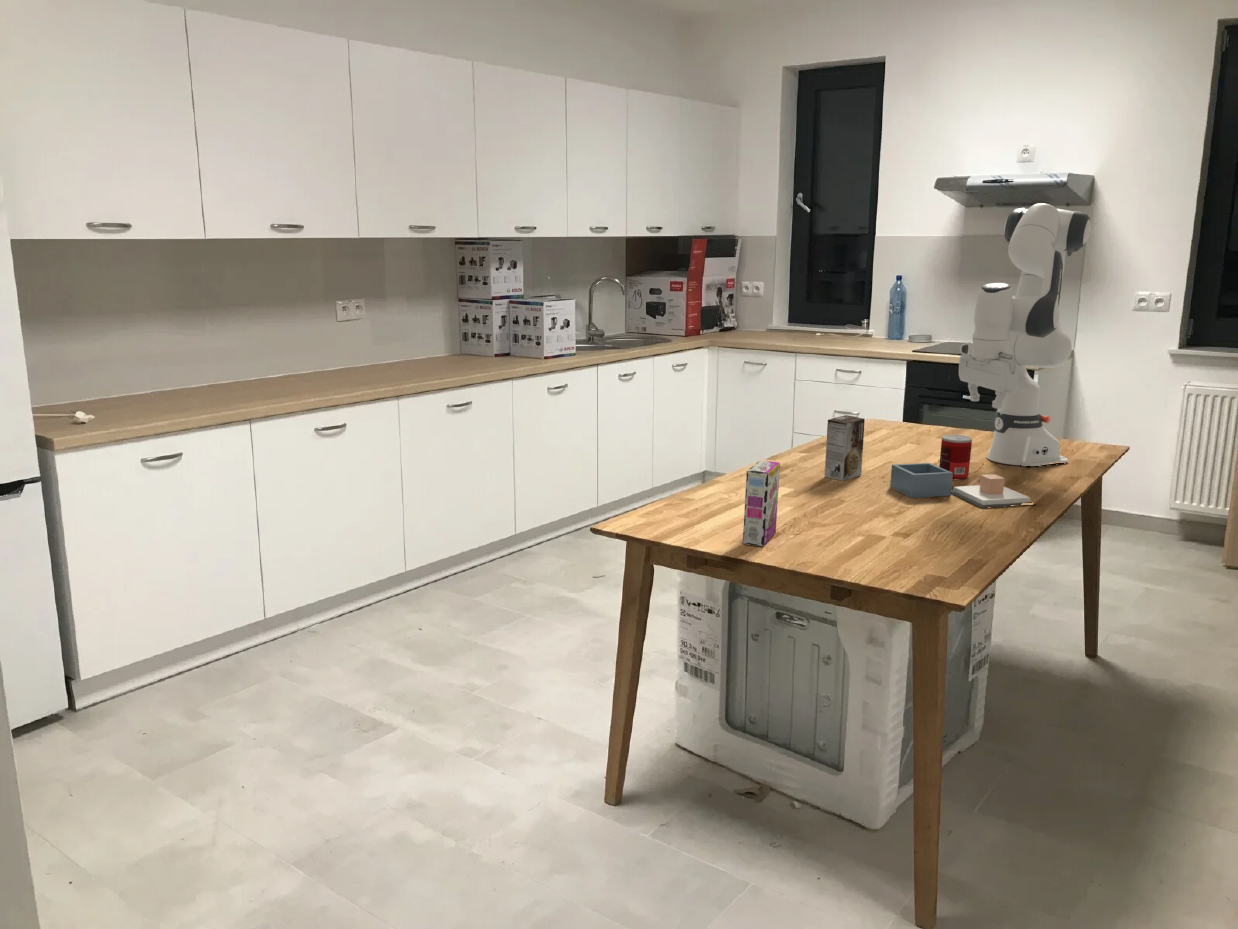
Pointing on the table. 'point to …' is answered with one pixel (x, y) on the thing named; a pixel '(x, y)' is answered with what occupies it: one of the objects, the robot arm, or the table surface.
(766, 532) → the candy bar box
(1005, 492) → the lid
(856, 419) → the coffee box
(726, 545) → the table surface
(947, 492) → the open box
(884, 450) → the table surface
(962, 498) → the mat
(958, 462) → the canned food
